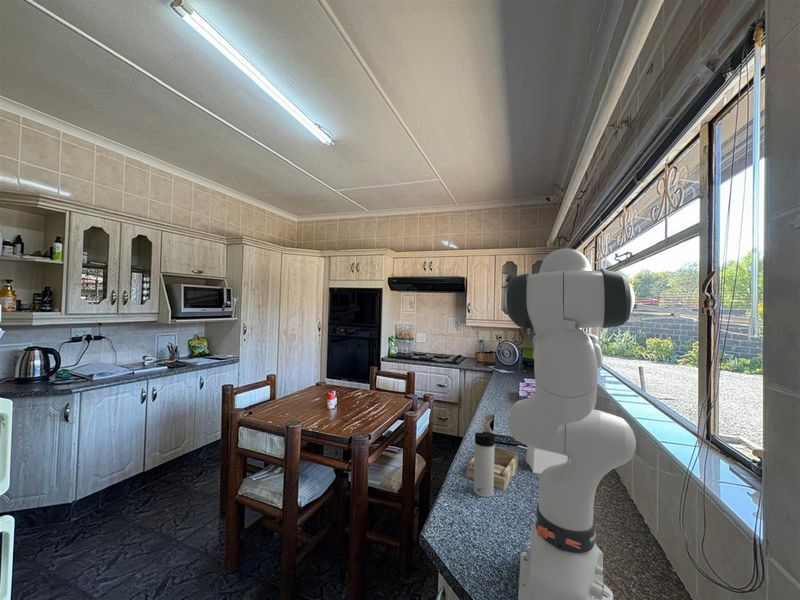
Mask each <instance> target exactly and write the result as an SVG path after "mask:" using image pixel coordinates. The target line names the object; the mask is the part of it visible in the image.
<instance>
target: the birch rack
mask: <svg viewBox="0 0 800 600" xmlns="http://www.w3.org/2000/svg"><path fill="white" fill-rule="evenodd" d="M496 463H497V464H496ZM467 464H468V465H467V466H466V478H468V479H472V480H474V456H473V457H471V459H470V460H469V461H468V463H467ZM494 465H497V466H501V467H503V473H502V476H499V475H496V474H494V488H497V489H500V490H503V491H505V490H506V488H507V487H508V485H509V483H510V482H511V480H512V478H513V477H514V475H515V473H516V472H517V471H518V469H519V452H518V451H517V452H516V451H514V450H510V449H506V448H502V447H499V446H496V445H495V446H494Z"/></svg>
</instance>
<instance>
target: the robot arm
mask: <svg viewBox="0 0 800 600" xmlns="http://www.w3.org/2000/svg"><path fill="white" fill-rule="evenodd" d="M506 286H507V287H506V289H505V292H504V298H503V299H504V306H505V309H506V311H507V316H508V317H509V319H510V320H511V321H512V322H513V324H515V325H516V326H517V327H519V328H521V329H522V330H523V333H524V335H527V336H529V335H530V332H531V331H532V332H534V333H535V334H534V335H533V337H532V345H533V350H532V351H533V352H532V358H533V361H534V364H533V365H534V366H533V368H534V369H533V371H534V382H535V391H534V393H533V394H532V395H530V396H529V397H526V398H525V399H519V400H517V401H516V402H514V403H513V405H512V406H511V407H510V409H509V411H508V414H507V426H508V429H509V432H510V435H511V436H512V438H513V439H514V440H515V441H517V442H519V443H521V444H524V445H526V446H527V445H528V446H530V447H533V448H535V449H540V450H544V451H549V452H553V453H557V454H562V455H565V454H566V456H567V457H568V458H569V459H568V460H567V461H566V462H564V463H561V464H556V465H552V466H550V467H548V468H546V469H545V470H543V472H542V473H540V476H539V478H538V504H537V506H536V511H535V523H533V524H531V525H530V549H529V548H527V549H526V551H522V552H521V553H520V560H519V573H518V574H519V577H518V592H517V593H518V594H517V595H518V596H517V600H615V599H614V593H613V591H612V590H611V589H610V588H609V587H608V586H607V585H606V584H605V583H604V573H605V572H604V571H605V569H604V561H603V560H604V553H603V552H602V550H601V549H600V548H599V547H598V545H597V544H596V536H597V533H596V532H597V531H596V523H595V521H594V504H595V497H596V496H595V495H596V490H597V487H598V485H599V483H600V482H601V480H602V479H603V478H604V477H605V476H606V475H607V474H608V473H609V472H610V471H613V470H614V469H617V468H618V467H621V466H624V465H625V464H627V463H628V462H630V461H631V459H632V458H633V457H634V456H635V453H636V449H637V440H636V436H635V433H634V431H633V429H632V426H630V424H629V423H628V422H627V420H625V419H624V418H623V417H620V416H618V415H615V414H612V413H609V412H606V411H602V410H599V409H595V408H596V405H597V398H598V397H597V396H598V395H597V394H598V374H599V373H598V371H599V370H598V369H599V368H601V367H603V364H604V360H603V359H604V358H603V352H602V348H601V346H600V345H599V344H598V342H599V337H598V336H597V335H595V334H592V333H589V332H588V331H584V330H583V329H586V328H603V329H610V328H615V327H621V326H624V325H625V324H626V323H627V322H628V320H629V319H630V317H631V314H632V312H633V310H634V306H635V293H634V289H633V287H632V285H631V284H630V280H629V279H628V278H627V277H626V276H625V275H623V274H622V273H620V272H616V271H613V270H607V269H606V268H605V267H604V268H603V267H601V269H596V270H595V269H594V270H592V266H591V264H590V262H589V259H587V257H586V255H584V254H583V253H582V252H580V251H579V250H577V249H574V248H559V249H556V250H553V251H552V252H550V253H549V254H547V255H546V257H544V259H543V261H542V262H541V265H540V269H539V273H537V272H536V273H533V274H529V273H522V274H519V275H516V276H513V277H512V278H510V280H509V282H508V283H507V285H506Z"/></svg>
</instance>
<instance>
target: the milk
mask: <svg viewBox="0 0 800 600" xmlns="http://www.w3.org/2000/svg"><path fill="white" fill-rule="evenodd" d="M526 446H527V447H526V458H525V459H526V460H525V462H526V464H528V466H529V467H530V469H531V471H532V473H534V474H541V473H542V472H543V470H545V469H546V468H548V467H550V466H552V465H556V464H561V463H564V462H566V461H567V460H569V459H568V458H569V457H568V456H566V454H565V455H562V454H557V453H553V452H549V451H544V450H540V449H535V448H533V447H530V446H528V445H526Z"/></svg>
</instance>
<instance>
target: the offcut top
mask: <svg viewBox="0 0 800 600" xmlns="http://www.w3.org/2000/svg"><path fill="white" fill-rule="evenodd" d="M497 465H498V464H496V465H494V474H496V475H499V476H502V473H503V467H504V466H503V467H501V466H502V465H500V466H497Z"/></svg>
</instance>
